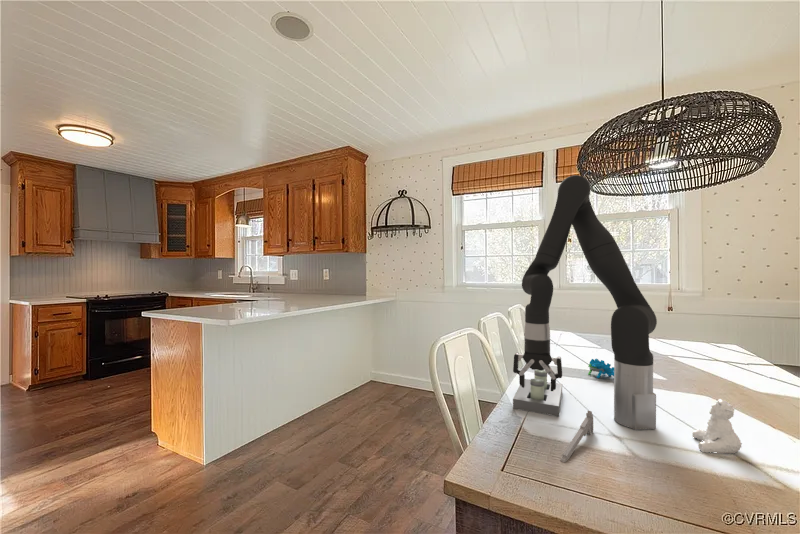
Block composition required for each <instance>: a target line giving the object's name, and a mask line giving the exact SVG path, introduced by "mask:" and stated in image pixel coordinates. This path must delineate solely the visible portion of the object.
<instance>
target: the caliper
mask: <svg viewBox="0 0 800 534" xmlns="http://www.w3.org/2000/svg"><path fill="white" fill-rule="evenodd" d="M585 415H586V417H585V418H584V420H583V421H582V422H581V425H580V426H579V428H578V430H577V432H576V433H575V434H574V436H573V438H572V439H571V441H569V444H568V445H567V447H566V448H565V450H564V451H563V452H562V454H561V455H562V456H561V457H560V460H559V461H561V462H563V463H567V461H568V460H569V459H570V458H571V456H572V454H573V453H574V451H575V450H576V448H577V447H578V445H579V444H580V443H581V440H582V439H583V437H586V435H589V436H592V434H593V433H594V414H593V411H591V410H587V412H586V414H585ZM591 432H592V433H591Z"/></svg>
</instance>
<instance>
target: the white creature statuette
mask: <svg viewBox="0 0 800 534" xmlns="http://www.w3.org/2000/svg"><path fill="white" fill-rule="evenodd" d="M716 401H717V402H715V404H712V405H711V408H710V410H709V415H710V419H708V422H707V425H708V426H707V429H706V430H704V429H693V431H692V438H693V437H694V438H693V439H695V438H697V439H700V440H699V441H701V440H703V442H702V441H701V442H699V443H698V445H697V446H698V450H699V449H700V450H702V451H704V452H703V453H705V452H710V453H711V452H717V453H716V454H725V453H726V454H731V453H733V454H735V453H737V452H738V451H740V450H741V448H742V444H743V443H742V442H741V439H740V437H738V435H737V433H736V432H735V430H734V428H733V424H732V422H731V421H730V419H732V418H733V417H734V415H735V414H734V413H735V408H734V407H733V405H731V403H729V402H728V401H727V400H724V399H721V398H718V399H717V400H716ZM697 439H696V440H697ZM700 450H699V451H700ZM710 453H709V454H710ZM711 454H712V453H711Z"/></svg>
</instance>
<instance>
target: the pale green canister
mask: <svg viewBox="0 0 800 534" xmlns="http://www.w3.org/2000/svg"><path fill="white" fill-rule="evenodd" d="M529 380H530V384H531V399H537V400H543V401H544V380H541V379H535V378H530V379H529Z"/></svg>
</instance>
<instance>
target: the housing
mask: <svg viewBox="0 0 800 534" xmlns="http://www.w3.org/2000/svg"><path fill="white" fill-rule="evenodd" d="M533 371H534V374H533V376H534V379H541V380H544V401H543V400H537V399H531V384H530V380H531V379H529V378H528V379H527V378H525V387H524V388H523V387H522V385H520V384H519V386H518V388H517V390H516V392H515V394H514V396H513V398H512V409H515V410H520V411H525V412H532V413H538V414H542V415H549V416H554V417H560V409H561V404H562V397H563V383H558V382H556V389H555V390H553V391H551V381H548V373H547V372H546V371H545V369H544V370H542V371H541V370H537V369H536V370H533Z"/></svg>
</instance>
